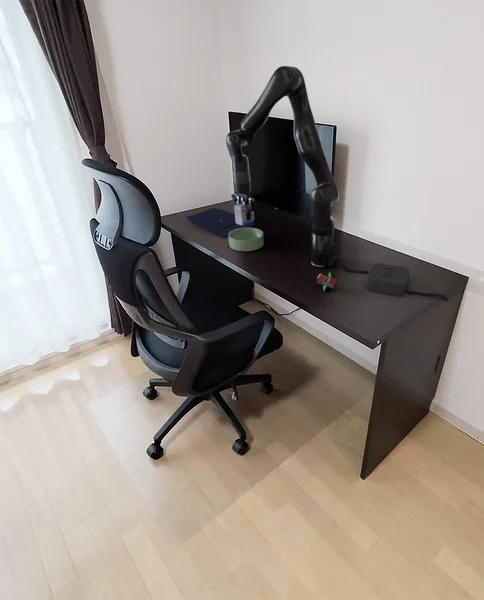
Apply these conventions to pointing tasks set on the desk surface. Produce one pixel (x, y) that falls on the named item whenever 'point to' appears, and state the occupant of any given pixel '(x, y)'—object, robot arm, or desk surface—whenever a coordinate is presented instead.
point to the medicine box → (242, 215)
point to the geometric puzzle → (326, 281)
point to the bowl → (246, 239)
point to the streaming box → (388, 279)
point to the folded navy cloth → (217, 221)
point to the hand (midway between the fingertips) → (244, 218)
